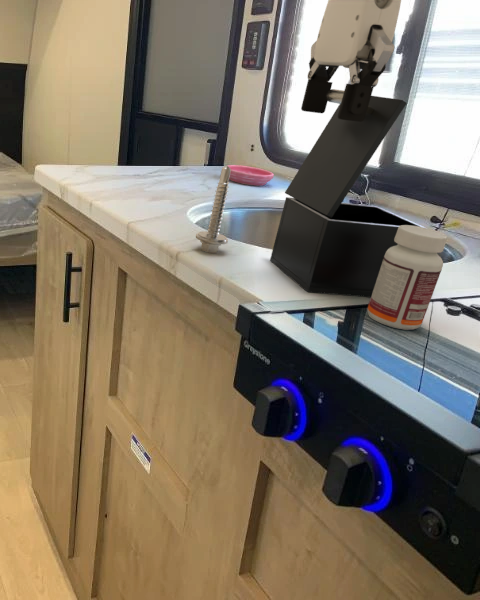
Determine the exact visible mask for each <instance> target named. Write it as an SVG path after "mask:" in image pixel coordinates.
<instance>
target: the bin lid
mask: <svg viewBox="0 0 480 600" xmlns="http://www.w3.org/2000/svg"><path fill="white" fill-rule="evenodd" d="M344 91H345V90H344V89H343V90H342V89H335V88H331V90H329V91H328V92H327V94H326V99H327V101H328V102H329V103H333V104H338V106H337V108H336V109H335V111H334V112H333V114H332V115H331V117H330V119H329V120H328V122H327V123H326V125H325V127H324V129H322V132H321V133H320V135H319V137H318V138H317V139H316V141H315V143H314V145H313V146H312V148H311V149H310V151H309V152H308V154H307V156H306V157H305V159H304V161H303V163H302V164H301V165H300V167H299V169H298V171H296V174H295V175H294V177H293V178H292V179H291V182H290V183H289V185H288V187H287V188H286V189H285V191H284V194H286V195H288V196H289V197H290V198H295V199H297V200H299V201H301V202H302V203H304V204H306V205H308V206H310V207H312V208H314V209H315V210H317V211H319V212H321V213H323V214H325V215H327V216H329V217H330V218H332V217H333V215H334V214H335V212H336V211H337V209H338V207H339V206H340V204H341V203H343V202H344V200H345V199H346V197H347V195H348V194H349V192H350V191H351V189H352V188H353V186H355V184H356V182H357V180H358V179H359V177H360V176H361V175H362V173H363V171H364V170H365V168H366V167H367V165H368V163H369V162H370V161H371V159H372V158H373V156H374V154H375V153H376V151H377V150H378V148H379V147H380V145H381V143H382V142H383V141H384V139H385V137H386V136H387V134H388V133H389V131H390V130H391V129H392V127H393V126H394V124H395V122H396V121H397V119H398V118H399V117H400V115H401V113H402V111H403V110H404V109H405V107H406V105H407V104H408V102H406V101H405V100H404V99H398V98H391V97H383V96H377V95H371V98H370V101H369V105H368V108H367V112H366V115H365V119H364V120H363V121H362V122H358V121H350V120H342V119H339V118H338V113H339V109H340V105H341V102H342V98H343V94H344Z"/></svg>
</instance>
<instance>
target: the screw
mask: <svg viewBox="0 0 480 600" xmlns="http://www.w3.org/2000/svg"><path fill="white" fill-rule="evenodd" d="M230 172H231V168H229V167H228V166H227V165H224V166H223V167H222V168H221V170H220V175H219V180H218V182H217V186H216V190H215V194H214V198H213V200H214V201H213V205H212V206H211V208H212V209H211V213H210V217H209V221H208V223H209V225H208V228H207V231H204V230H203V231H199V232H197V233H196V234H195V238H196V239H197V241H200V243H201V245H200V246H201V247H200V251H203V252H205V253H206V254H207V253H208V254H217V253H218V252H219V248H220V247H221V246H222V245H227V244H228V242H229V239H228V238H227V237H226V235H223V234H221V233H220V231H221V229H220V228H221V227H222V225H221V224H222V223H223V222H222V220H223V216H224V212H225V210H224V209H225V208H226V206H225V205H226V204H227V202H226V200H227V196H228V192H229V188H230V186H229V185H230V182H229V181H230V179H229V177H230Z"/></svg>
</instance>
